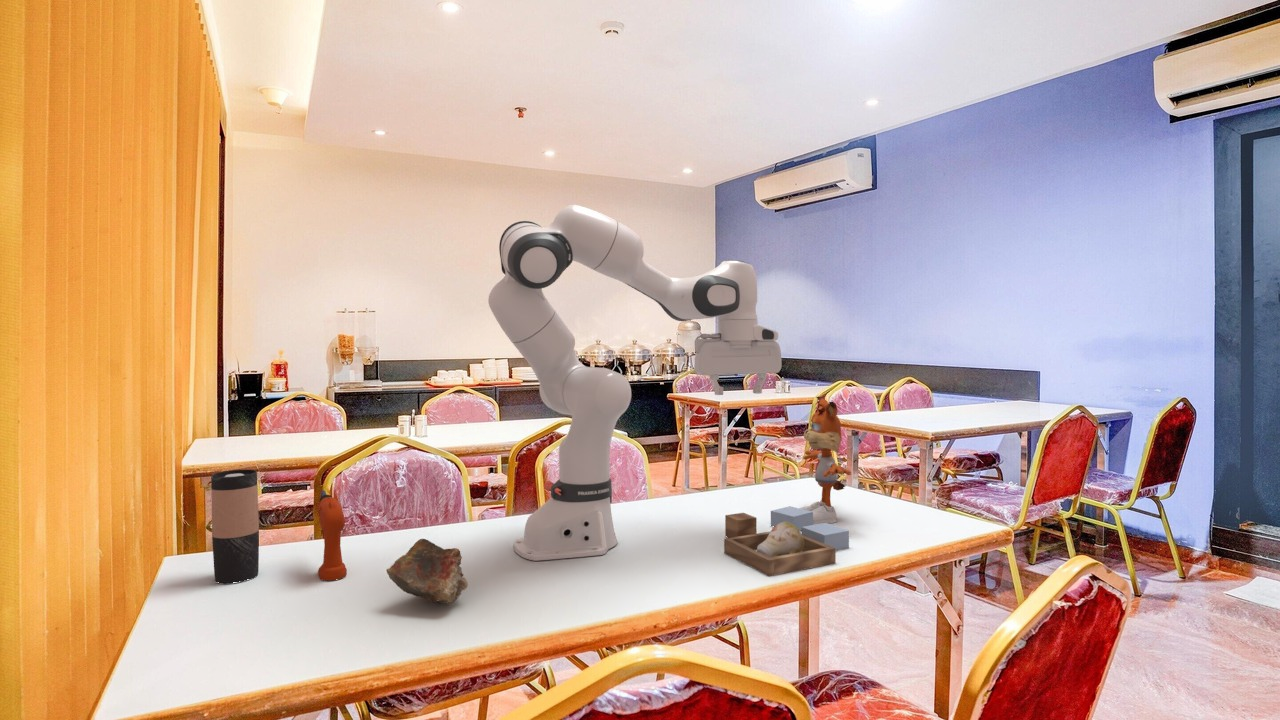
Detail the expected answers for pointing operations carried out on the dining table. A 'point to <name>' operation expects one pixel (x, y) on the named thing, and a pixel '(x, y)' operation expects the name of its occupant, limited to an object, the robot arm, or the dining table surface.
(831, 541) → the base block
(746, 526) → the walnut block
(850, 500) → the dining table surface
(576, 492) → the robot arm
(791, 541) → the beige rounded lump
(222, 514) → the travel mug
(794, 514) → the far block
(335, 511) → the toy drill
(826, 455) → the toy
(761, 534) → the wooden tray
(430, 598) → the rock
